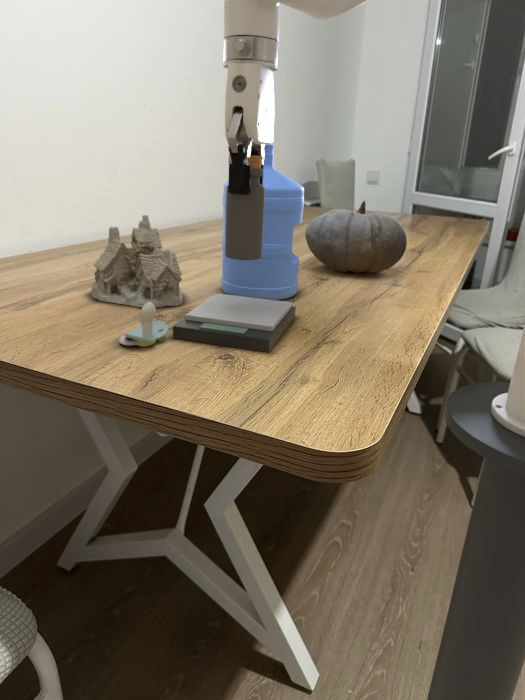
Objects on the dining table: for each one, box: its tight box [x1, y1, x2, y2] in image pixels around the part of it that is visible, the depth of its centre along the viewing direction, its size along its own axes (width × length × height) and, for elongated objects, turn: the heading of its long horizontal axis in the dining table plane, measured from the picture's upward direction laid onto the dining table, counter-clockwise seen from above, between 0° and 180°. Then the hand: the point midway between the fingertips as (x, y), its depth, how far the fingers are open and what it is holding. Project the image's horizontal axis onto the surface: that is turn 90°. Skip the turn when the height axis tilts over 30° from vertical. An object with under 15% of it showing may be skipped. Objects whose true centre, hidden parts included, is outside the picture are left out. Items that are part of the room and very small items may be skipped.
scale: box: [172, 293, 297, 353], centre depth 84 cm, size 15×18×3 cm
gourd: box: [304, 200, 408, 274], centre depth 128 cm, size 25×25×17 cm
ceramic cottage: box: [90, 214, 184, 309], centre depth 95 cm, size 16×16×15 cm
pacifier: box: [118, 302, 169, 347], centre depth 75 cm, size 7×6×6 cm
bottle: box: [225, 155, 265, 260], centre depth 79 cm, size 6×6×15 cm
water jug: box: [220, 144, 305, 301], centre depth 101 cm, size 16×16×28 cm
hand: (246, 191), depth 78 cm, fingers closed on bottle, 5 cm apart
